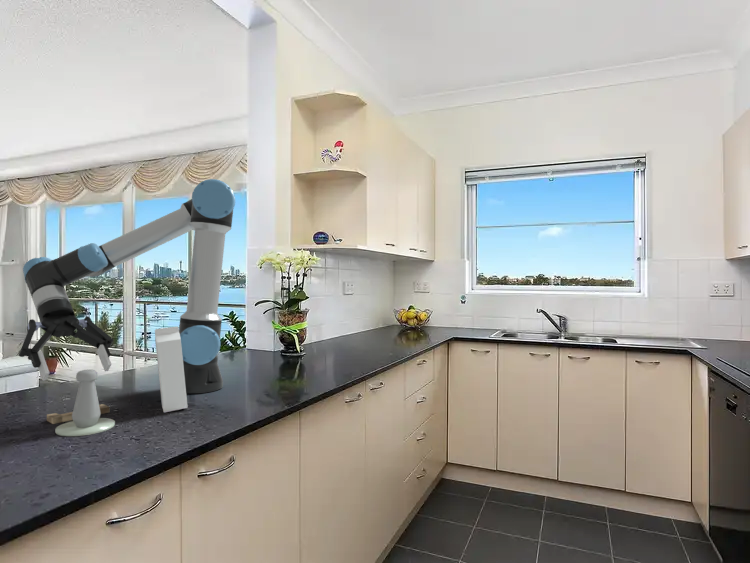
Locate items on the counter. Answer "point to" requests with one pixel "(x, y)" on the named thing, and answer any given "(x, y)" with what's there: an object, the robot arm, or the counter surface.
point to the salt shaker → (86, 400)
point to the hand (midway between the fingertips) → (78, 372)
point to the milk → (170, 369)
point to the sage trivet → (72, 430)
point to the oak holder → (68, 416)
